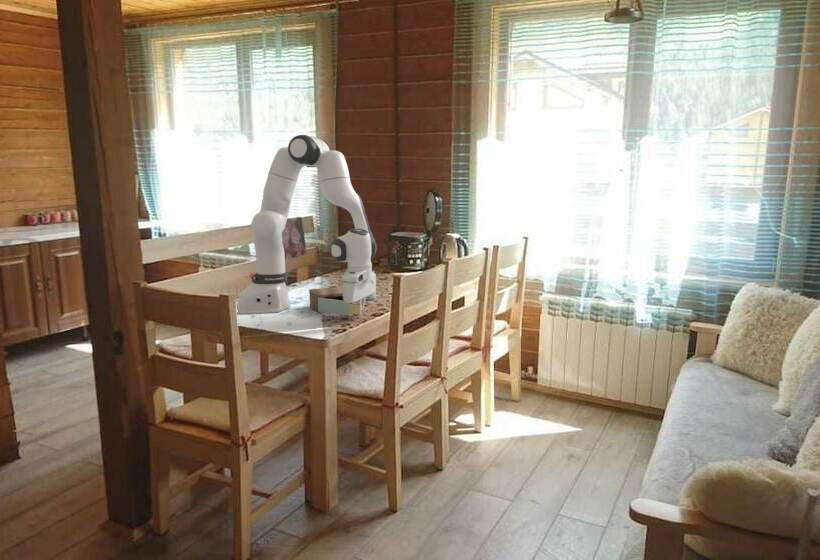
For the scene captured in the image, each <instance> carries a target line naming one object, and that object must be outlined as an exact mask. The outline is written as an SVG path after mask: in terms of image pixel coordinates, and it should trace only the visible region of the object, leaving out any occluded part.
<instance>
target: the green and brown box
mask: <svg viewBox="0 0 820 560" xmlns="http://www.w3.org/2000/svg"><path fill="white" fill-rule="evenodd" d="M308 290H309V291H308V292H309V307H310V309H312V310H313V311H314V312H316V313H317V314H323V313H324V312H318V298H325V299H334V300H342V301H344V300H343V286H337V287H336V286H334V287H324V288H312V289H308ZM350 304H353V303H350Z"/></svg>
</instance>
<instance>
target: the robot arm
mask: <svg viewBox="0 0 820 560" xmlns="http://www.w3.org/2000/svg"><path fill="white" fill-rule="evenodd" d="M304 167H306V168H316V169H317V170H318V173H319V179H320V186H321V191H322V194H323V196H324V198H325V199H326V200H327V202H329V203H330V204H332V205H335V206H338V207H341V208H342V209H345V210H347V212H348V213H349V214H350V215H351V218H352V221H353V225H354V228H351V229H348V231H347V233H345V234H344V235H341V236H338V237H335V238H334V239H333V240H332V242H331V243H330V255H331V257H332V259H334V260H335V262H338V263H346V262H347V268H346V270H345V272H344V273H343V274H342V275H341V282H343V283H342V287H343V300H344V302H345V303H352V304H357V305H361V308H362V310H364V309H365V303H366V301H367V300H366V297H367V296H369V295H372V294H374V293H375V291H376V292H377V284H376V285H375V277H374V275H373V272H372V271H373V269H372V267H373V266H372V265H373V263H372V262H371V260H372V259H373V258H374V256H375V254H376V252H377V249H378V247H377V241H376V240H375V237H374V235H373V233H372V230H371V227H370V224H369V220H368V216H367V214H366V213H367V212H366V209H365V206H364V203H363V201H362V198H361V196H360V195H359V194H358V193H356V191H355V189H354V187H353V185H352V183H351V176H350V172H349V168H348V167H349V166H348V164H347V161H346V157H345V155H344V154H343V153H342V152H341V151H339V150H336V149H335V150H334V149H332V148H331V146H330V144H329V143H328V142H326V140H324V139H321V138H318V137H316V136H311V135H307V134H298V135H296V136H294V137H292V138H291V139H290V140H289V143H288V146H284V147H280V148H279V149H278V150H277V152H276V153H275V156H274V158H273V160H272V162H271V165H270V168H269V171H268V174H267V178H266V181H265V185H264V187H263V190H262V193H263V194H262V202H261V206H260V211H259V212H258V213H256V214H255V215H254V216H253V218H252V220H251V223H250V226H251V227H250V228H251V233H252V238H253V246H254V250H255V258H256V259H255V260H256V261H255V262H256V273H253V272H252V273H250V274H249V278H250V279H251V283H250V285H248V286H247V287H245V288H244V289H243V290H242V291H240V293H239V296H238V299H237V300H238V301H237V310H238V313H237V314H238V315H244V314H245V315H246V314H249V315H250V314H265V313H266V314H267V313H268V314H269V313H270V314H271V313H279V312H282V311H283V310H288V309H290V308H291V307H292V305H291V302H290V298H289V295H288V289H287V286H288V275H287V271H286V259H285V258H286V257H285V254H286V253H285V249H284V245H283V244H284V242H283V235H282V233H283V232H284V230H285V229H286V225H287V221H288V217H289V213H290V208H291V203H292V199H293V196H294V193H295V192H294V191H295V188H296V186H297V183H298V179H299V175H300V172H301V171H302V169H303V168H304Z"/></svg>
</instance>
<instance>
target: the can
mask: <svg viewBox="0 0 820 560" xmlns="http://www.w3.org/2000/svg"><path fill="white" fill-rule="evenodd" d="M372 272H373V275H374V277H375V285H376V286H377V274H376V273H375V270H372ZM376 298H377V290H376V291H375V293H374V294H372V295H369V296H367V297H366V300H365V301H373V300H375V299H376Z"/></svg>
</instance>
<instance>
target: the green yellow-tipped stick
mask: <svg viewBox="0 0 820 560" xmlns="http://www.w3.org/2000/svg"><path fill="white" fill-rule="evenodd" d="M318 312H324V313H327V314H333V315H341V316H348V317H350V316H351V314H354V315H362V308H361V305H357V304H356V303H352V304H350V303H345V302H344V301H342V300H334V299H325V298H318Z"/></svg>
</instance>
